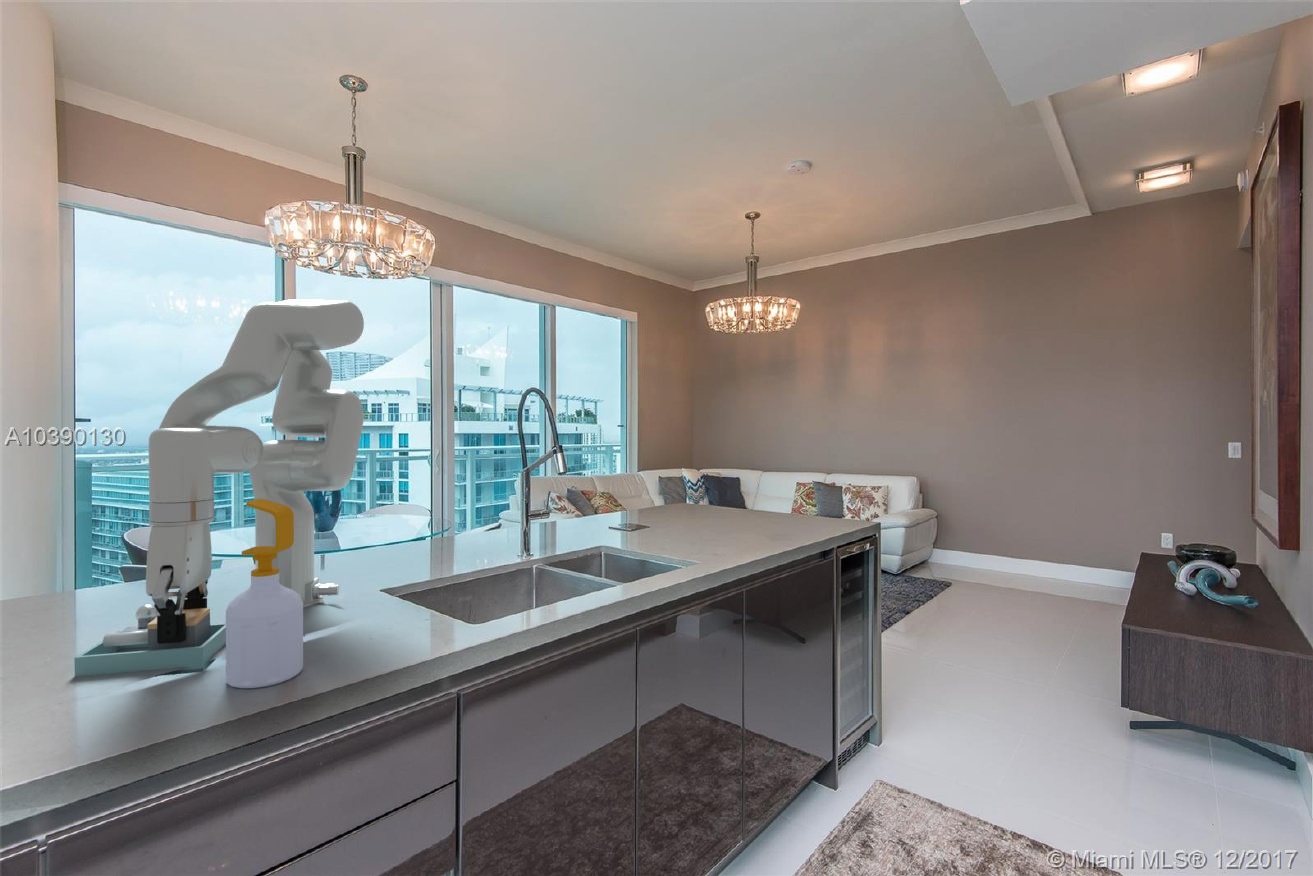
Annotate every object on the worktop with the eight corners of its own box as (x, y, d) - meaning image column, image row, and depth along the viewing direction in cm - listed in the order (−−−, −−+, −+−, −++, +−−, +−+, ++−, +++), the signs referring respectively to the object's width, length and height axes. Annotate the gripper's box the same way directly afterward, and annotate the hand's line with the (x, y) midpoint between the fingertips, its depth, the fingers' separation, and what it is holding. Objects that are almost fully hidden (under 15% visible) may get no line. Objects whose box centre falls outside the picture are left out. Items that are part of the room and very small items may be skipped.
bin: (230, 645, 96) (230, 623, 96) (203, 671, 86) (202, 647, 86) (117, 654, 92) (117, 631, 92) (74, 683, 82) (74, 657, 82)
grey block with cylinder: (210, 647, 93) (209, 607, 93) (196, 662, 88) (194, 620, 87) (117, 656, 89) (116, 614, 89) (96, 672, 84) (94, 628, 84)
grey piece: (192, 628, 103) (192, 595, 103) (167, 647, 95) (167, 611, 94) (127, 633, 100) (127, 598, 100) (96, 653, 92) (95, 615, 92)
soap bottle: (249, 663, 89) (249, 496, 88) (314, 662, 90) (314, 496, 89) (210, 690, 80) (209, 504, 79) (282, 689, 81) (282, 505, 80)
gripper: (178, 504, 96) (179, 617, 97) (119, 523, 80) (120, 658, 80) (233, 503, 99) (234, 613, 99) (187, 521, 82) (187, 652, 82)
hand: (183, 632), depth 90 cm, fingers open, 6 cm apart
